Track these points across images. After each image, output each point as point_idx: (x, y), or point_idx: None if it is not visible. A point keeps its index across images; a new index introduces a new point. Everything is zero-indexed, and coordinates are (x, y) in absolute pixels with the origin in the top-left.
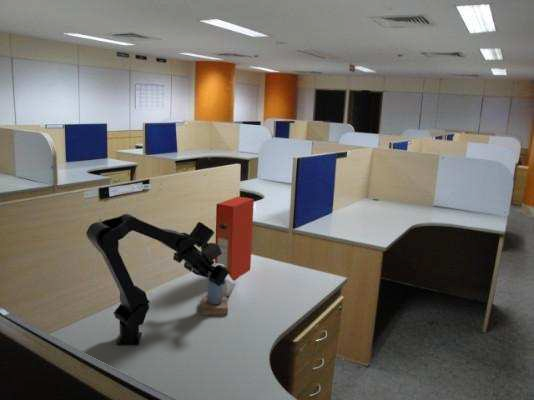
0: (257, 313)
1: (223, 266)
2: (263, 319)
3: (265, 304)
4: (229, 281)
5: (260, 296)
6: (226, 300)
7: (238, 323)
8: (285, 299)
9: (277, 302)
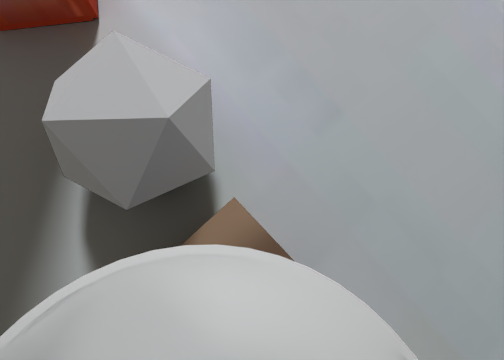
0: (421, 186)
1: (380, 357)
2: (483, 215)
3: (380, 91)
4: (188, 104)
5: (308, 44)
6: (266, 238)
7: (439, 343)
8: (403, 2)
9: (401, 43)
